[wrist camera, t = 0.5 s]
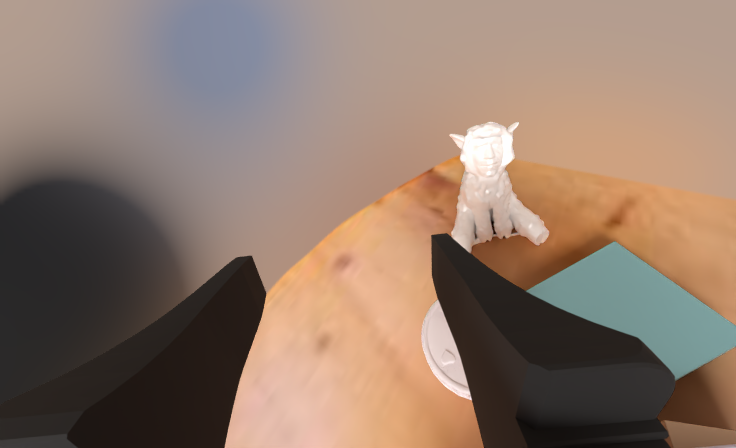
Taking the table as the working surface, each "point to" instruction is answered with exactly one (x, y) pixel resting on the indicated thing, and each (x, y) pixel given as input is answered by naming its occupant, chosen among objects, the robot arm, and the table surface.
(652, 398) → the robot arm
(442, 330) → the smoothie
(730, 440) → the walnut block
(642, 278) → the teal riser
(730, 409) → the table surface
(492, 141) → the seated beast figurine
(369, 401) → the table surface
